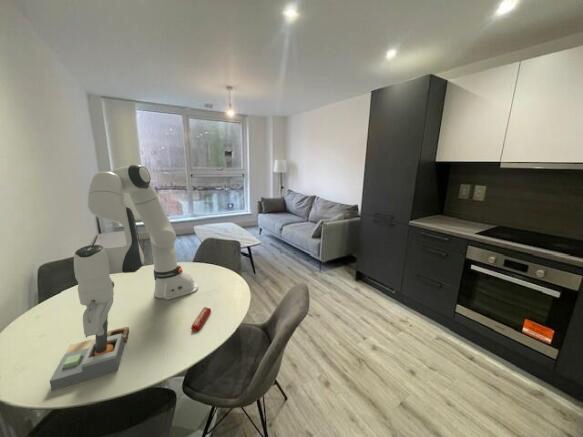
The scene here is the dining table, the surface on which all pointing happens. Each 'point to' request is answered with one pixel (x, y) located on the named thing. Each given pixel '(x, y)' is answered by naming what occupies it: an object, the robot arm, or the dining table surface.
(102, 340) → the grey rounded rod
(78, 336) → the dining table surface
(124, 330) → the stand
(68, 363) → the on button
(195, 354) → the dining table surface
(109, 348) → the plunger
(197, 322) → the candy bar
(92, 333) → the robot arm
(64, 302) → the dining table surface
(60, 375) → the grey boxy piece
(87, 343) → the pad
